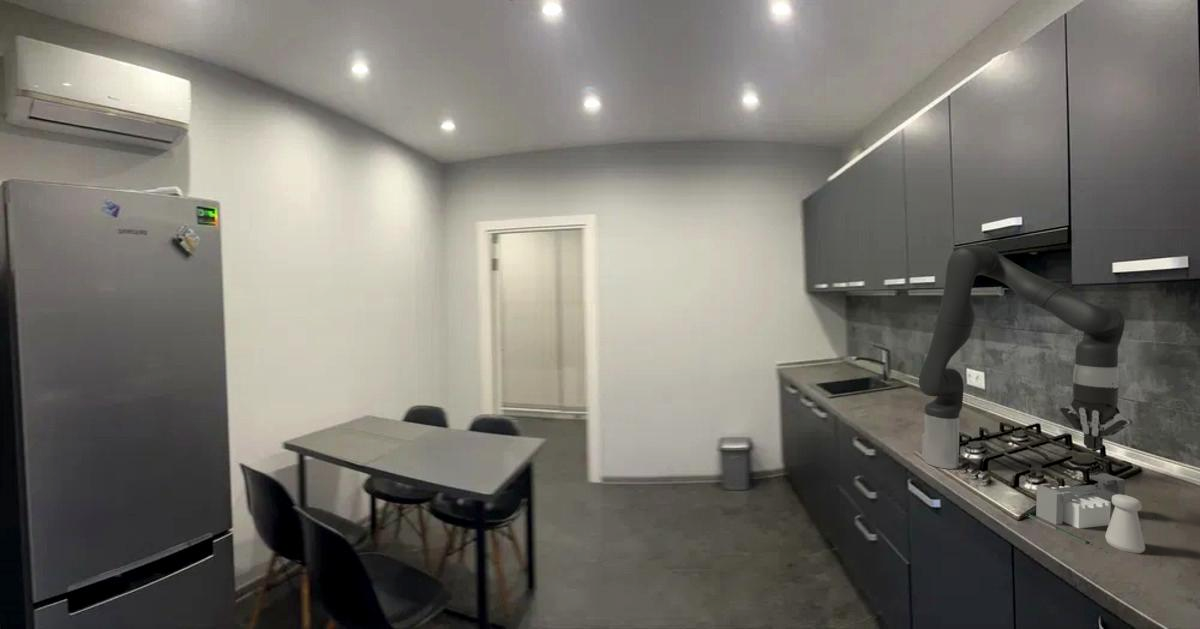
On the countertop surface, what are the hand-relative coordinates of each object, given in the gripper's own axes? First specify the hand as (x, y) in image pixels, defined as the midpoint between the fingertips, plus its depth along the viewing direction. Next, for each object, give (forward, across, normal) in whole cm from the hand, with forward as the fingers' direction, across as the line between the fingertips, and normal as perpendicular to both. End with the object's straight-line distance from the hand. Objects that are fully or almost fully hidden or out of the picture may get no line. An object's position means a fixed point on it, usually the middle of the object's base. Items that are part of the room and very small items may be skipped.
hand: (1093, 448), depth 108 cm
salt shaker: (+19, +11, -10) cm, 24 cm away
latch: (+18, 0, +5) cm, 18 cm away
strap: (+11, -1, -5) cm, 12 cm away
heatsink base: (+19, 0, -4) cm, 19 cm away
